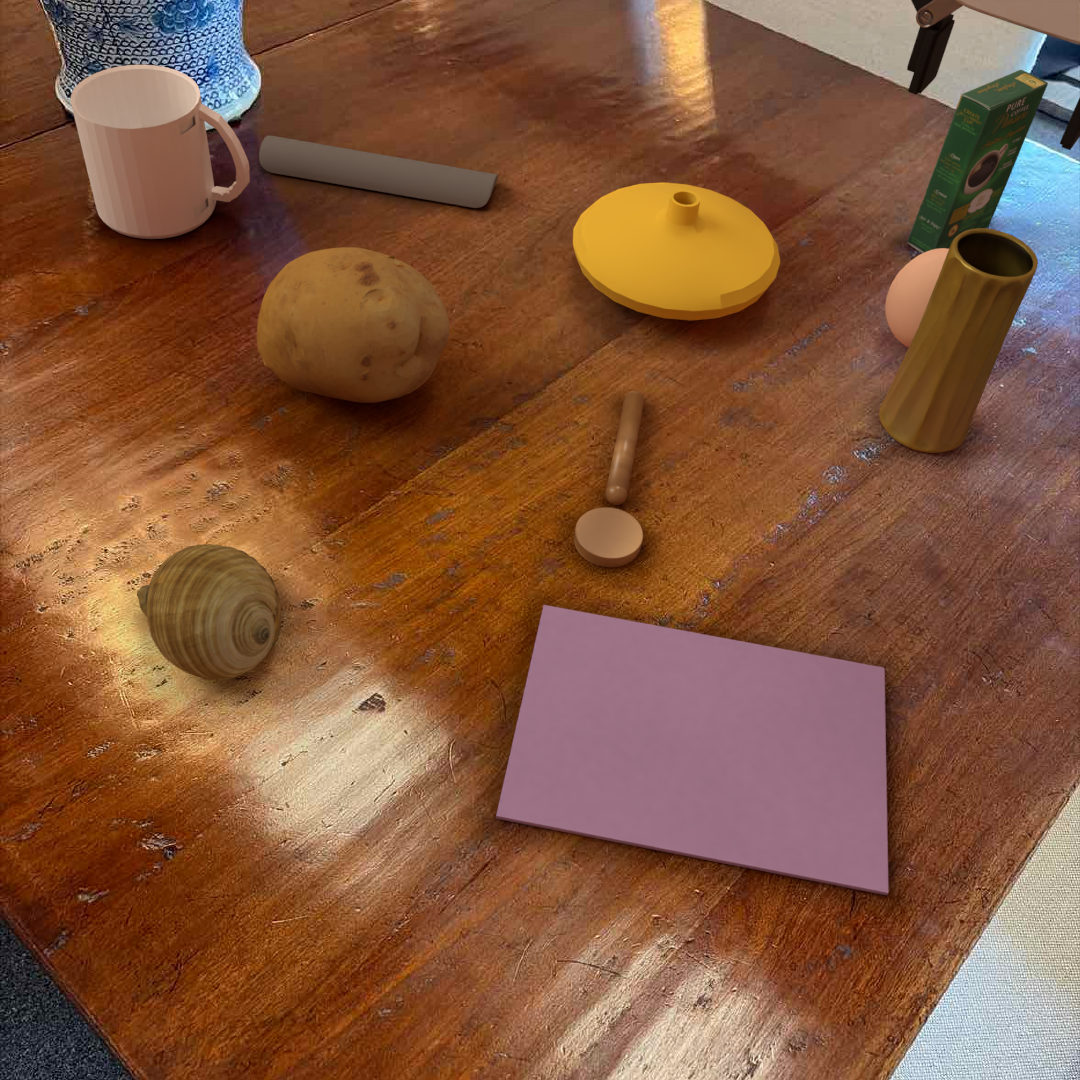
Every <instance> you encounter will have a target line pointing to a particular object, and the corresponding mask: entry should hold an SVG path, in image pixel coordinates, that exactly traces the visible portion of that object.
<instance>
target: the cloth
mask: <svg viewBox="0 0 1080 1080" xmlns="http://www.w3.org/2000/svg"><path fill="white" fill-rule="evenodd" d="M537 628H538V629H537V633H536V636H535V641H534V647H533V650H532V654H531V660H530V663H529V667H528V672H527V677H526V682H525V686H524V690H523V694H522V698H521V699H522V700H521V704H520V708H519V713H518V716H517V720H516V721H517V722H516V726H515V731H514V735H513V739H512V744H511V749H510V753H509V756H508V761H507V767H506V771H505V775H504V779H503V782H502V783H503V784H502V788H501V793H500V797H499V802H498V805H497V811H496V814H495V819H497V820H502V821H507V822H511V823H518V824H522V825H527V826H531V827H537V828H541V829H542V828H543V829H547V830H552V831H558V832H562V833H568V834H571V835H572V834H574V835H578V836H582V837H587V838H594V839H597V840H602V841H609V842H614V843H618V844H623V845H629V846H633V847H639V848H644V849H649V850H654V851H659V852H664V853H668V854H674V855H679V856H685V857H690V858H694V859H699V860H705V861H710V862H715V863H720V864H726V865H730V866H735V867H741V868H746V869H749V870H756V871H761V872H766V873H771V874H776V875H781V876H787V877H790V878H797V879H802V880H807V881H813V882H815V883H816V882H817V883H822V884H827V885H833V886H836V887H837V886H838V887H841V888H847V889H853V890H858V891H862V892H867V893H871V894H872V893H873V894H878V895H883V896H888V894H889V891H890V889H889V841H888V840H889V839H888V837H889V836H888V835H889V834H888V783H887V782H888V781H887V729H886V727H887V725H886V724H887V723H886V677H885V676H886V675H885V674H886V673H885V672H886V669H885V667H883V666H877V665H873V664H866V663H861V662H856V661H850V660H845V659H840V658H834V657H828V656H823V655H818V654H812V653H807V652H802V651H797V650H791V649H786V648H780V647H775V646H770V645H765V644H764V645H763V644H759V643H753V642H747V641H741V640H738V639H737V640H736V639H733V638H726V637H720V636H716V635H711V634H706V633H705V634H704V633H698V632H695V631H689V630H682V629H677V628H672V627H666V626H661V625H655V624H651V623H645V622H639V621H634V620H629V619H625V618H624V619H623V618H618V617H613V616H607V615H603V614H602V615H601V614H596V613H591V612H585V611H579V610H574V609H569V608H564V607H558V606H554V605H553V606H552V605H548V604H543V605H542V610H541V614H540V618H539V623H538V627H537Z"/></svg>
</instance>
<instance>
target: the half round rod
mask: <svg viewBox="0 0 1080 1080" xmlns="http://www.w3.org/2000/svg"><path fill="white" fill-rule="evenodd" d="M258 158H259V164H260V166H261V167H262V169H264V170H265V171H267V172H269V173H271V174H277V175H283V176H289V177H295V178H300V179H306V180H313V181H317V182H324V183H328V184H329V183H330V184H335V185H341V186H347V187H352V188H358V189H362V190H363V189H364V190H369V191H375V192H376V191H377V192H381V193H387V194H392V195H398V196H404V197H409V198H415V199H421V200H427V201H432V202H438V203H445V204H450V205H456V206H460V207H467V208H473V209H479V208H482V207H484V206H485V205H487V203H488V202H489V200H490V198H491V196H492V194H493V191H494V189H495V187H496V184H497V181H498V179H499V174H498V173H492V172H486V171H480V170H473V169H469V168H464V167H463V168H462V167H457V166H450V165H445V164H439V163H433V162H429V161H422V160H415V159H410V158H404V157H398V156H393V155H387V154H381V153H375V152H370V151H363V150H358V149H353V148H347V147H340V146H334V145H329V144H324V143H318V142H317V143H316V142H311V141H306V140H301V139H295V138H294V139H293V138H288V137H284V136H283V137H282V136H276V135H270V134H268V135H266V136H265V137H264V138H263V139H262V142H261V143H260V147H259V153H258Z"/></svg>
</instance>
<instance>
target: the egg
mask: <svg viewBox="0 0 1080 1080" xmlns="http://www.w3.org/2000/svg"><path fill="white" fill-rule="evenodd" d="M948 251H949V248H948V249H947V248H939V249H933V250H930V251H927V252H925V253H920V254H918V255H917V256H915V257H914V258H913V259H911V260H910V261H909V262H907V263H906V264H904V266H903V267H902V268H901V269H900V270H899V271H898V272H897V274H896V275H895V277H894V279H893V281H892V282H891V283H890V284H891V285H890V287H889V288H888V292H887V294H886V297H885V306H884V313H885V318H886V321H887V324H888V327H889V329H890V331H891V332H892V334H893V335H894V337H895V338H896V339H897V340H898V341H899V342H900V343H901V344H902V345H903V346H904V347H906V348H908V349H909V347H910V345H911V342H912V340H913V338H914V336H915V334H916V332H917V330H918V328H919V325H920V322H921V320H922V317H923V314H924V312H925V309H926V307H927V305H928V302H929V299H930V297H931V294H932V292H933V289H934V287H935V284H936V282H937V280H938V277H939V274H940V272H941V269H942V266H943V264H944V261H945V259H946V256H947V253H948Z"/></svg>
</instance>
